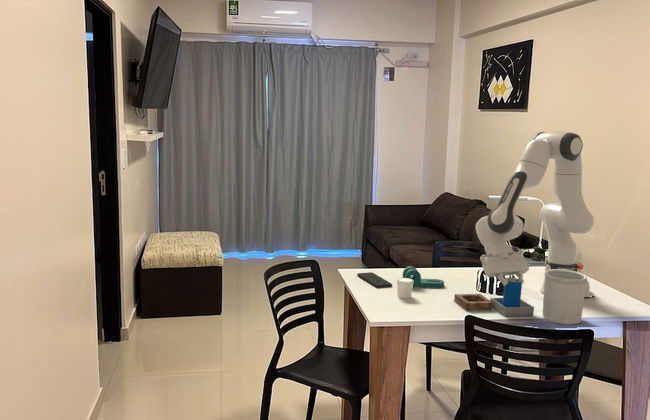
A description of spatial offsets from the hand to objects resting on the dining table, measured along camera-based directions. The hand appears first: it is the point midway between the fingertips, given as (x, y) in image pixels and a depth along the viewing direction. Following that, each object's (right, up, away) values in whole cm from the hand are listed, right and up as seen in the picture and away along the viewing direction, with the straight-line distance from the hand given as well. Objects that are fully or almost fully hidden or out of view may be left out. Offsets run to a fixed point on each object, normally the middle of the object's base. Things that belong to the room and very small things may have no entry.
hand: (514, 284), depth 222 cm
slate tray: (-1, -11, +2) cm, 11 cm away
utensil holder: (+17, -13, -4) cm, 21 cm away
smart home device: (-51, -4, +36) cm, 63 cm away
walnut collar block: (-14, -9, +7) cm, 19 cm away
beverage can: (-1, -10, +2) cm, 10 cm away
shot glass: (-40, -7, +16) cm, 44 cm away
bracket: (-30, -5, +33) cm, 44 cm away
